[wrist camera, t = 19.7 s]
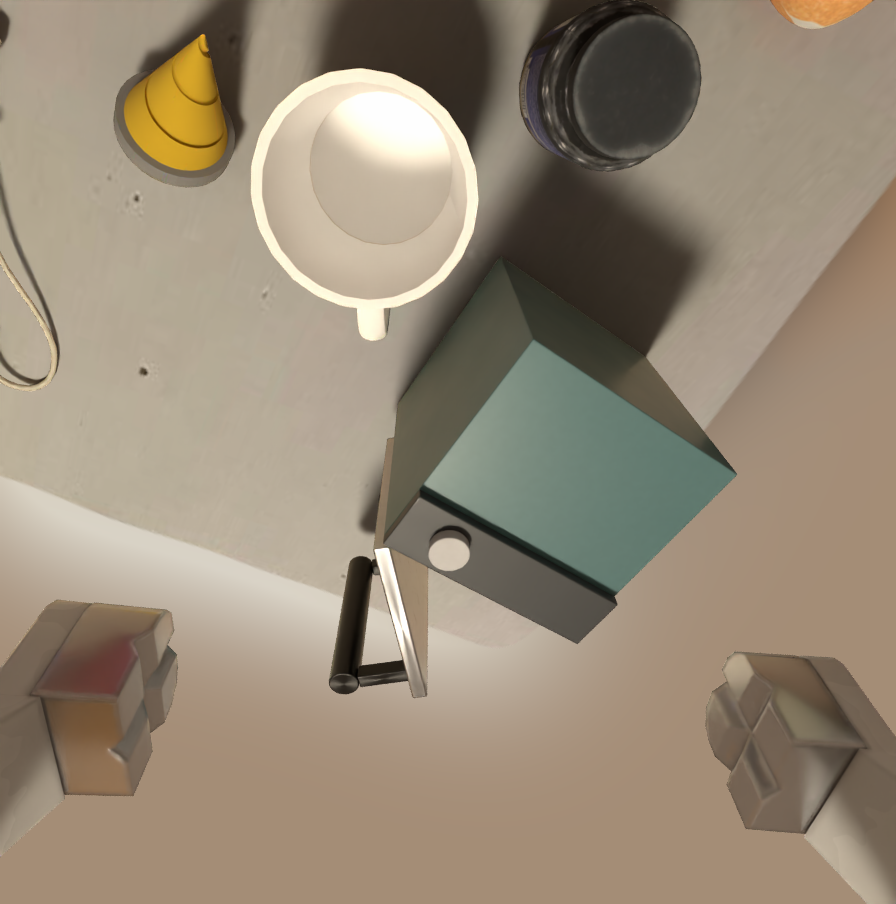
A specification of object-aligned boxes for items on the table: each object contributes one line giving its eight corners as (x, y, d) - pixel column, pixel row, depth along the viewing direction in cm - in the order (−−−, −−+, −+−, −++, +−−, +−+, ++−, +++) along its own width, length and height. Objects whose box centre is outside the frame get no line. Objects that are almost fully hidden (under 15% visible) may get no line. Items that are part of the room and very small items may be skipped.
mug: (289, 70, 33) (235, 64, 24) (470, 74, 33) (484, 71, 24) (307, 290, 38) (269, 354, 29) (463, 293, 39) (472, 357, 30)
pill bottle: (585, 179, 36) (642, 215, 26) (493, 108, 34) (517, 118, 24) (664, 70, 33) (758, 63, 24) (568, -13, 32) (629, -57, 22)
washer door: (354, 576, 45) (333, 709, 36) (317, 448, 40) (281, 562, 31) (428, 565, 45) (427, 697, 35) (399, 436, 40) (389, 547, 30)
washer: (536, 485, 45) (579, 654, 32) (397, 404, 42) (381, 553, 29) (646, 357, 41) (749, 489, 27) (500, 255, 38) (538, 349, 24)
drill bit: (109, 102, 34) (129, -52, 25) (218, 130, 37) (269, 0, 28) (108, 201, 33) (128, 76, 25) (219, 222, 36) (271, 116, 27)
